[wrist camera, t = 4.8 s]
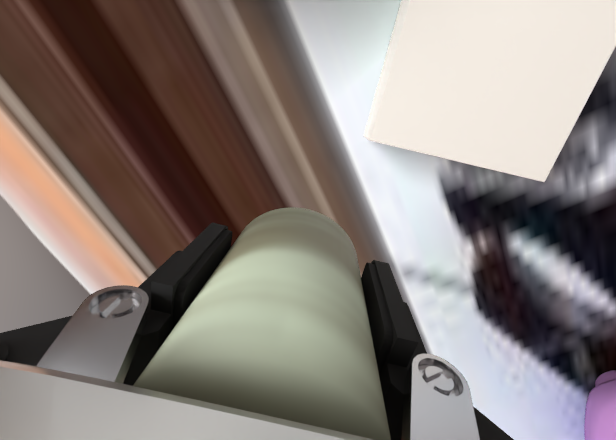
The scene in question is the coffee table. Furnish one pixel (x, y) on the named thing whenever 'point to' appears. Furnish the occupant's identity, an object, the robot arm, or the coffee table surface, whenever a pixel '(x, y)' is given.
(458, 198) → the coffee table surface
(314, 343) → the green domed cylinder
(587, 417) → the teapot
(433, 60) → the base
